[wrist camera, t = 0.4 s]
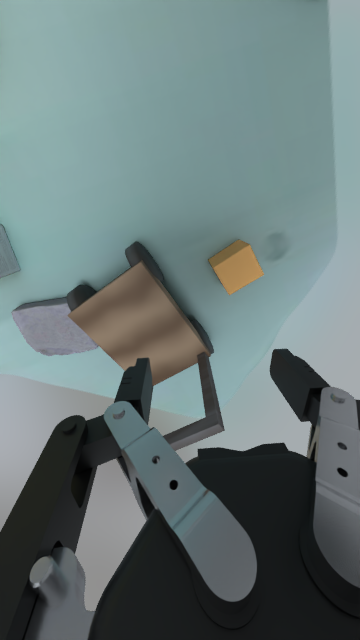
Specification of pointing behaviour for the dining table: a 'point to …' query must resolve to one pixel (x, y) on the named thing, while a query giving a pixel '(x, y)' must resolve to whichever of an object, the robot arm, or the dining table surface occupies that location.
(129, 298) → the trolley
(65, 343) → the stone block
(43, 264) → the dining table surface
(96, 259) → the dining table surface
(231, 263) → the block
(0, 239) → the small box
